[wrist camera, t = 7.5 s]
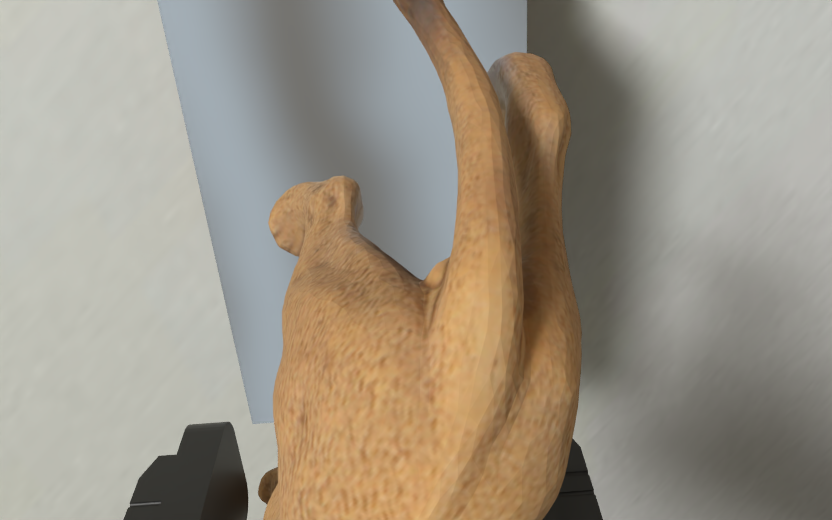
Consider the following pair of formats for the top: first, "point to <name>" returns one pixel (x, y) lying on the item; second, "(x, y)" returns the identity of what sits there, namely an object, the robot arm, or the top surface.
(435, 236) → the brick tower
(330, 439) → the lion figurine
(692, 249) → the top surface
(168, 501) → the robot arm
